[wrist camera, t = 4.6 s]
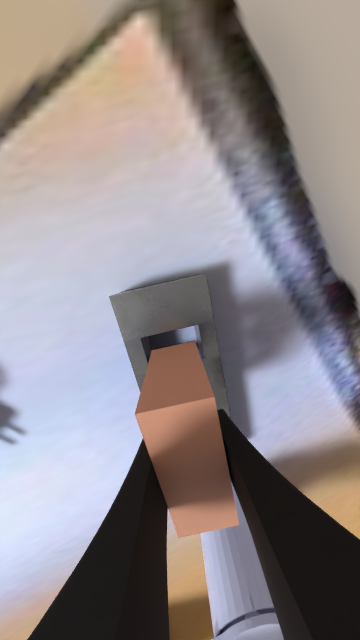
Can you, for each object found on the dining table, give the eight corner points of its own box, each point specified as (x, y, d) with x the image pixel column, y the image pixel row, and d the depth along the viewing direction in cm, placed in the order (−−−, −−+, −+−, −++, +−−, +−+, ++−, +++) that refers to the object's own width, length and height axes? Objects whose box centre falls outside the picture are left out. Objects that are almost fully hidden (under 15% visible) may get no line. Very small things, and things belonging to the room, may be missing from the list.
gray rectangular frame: (229, 445, 20) (240, 474, 17) (171, 460, 20) (172, 491, 17) (198, 274, 15) (206, 274, 12) (120, 292, 15) (109, 296, 12)
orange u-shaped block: (212, 426, 13) (239, 525, 8) (175, 434, 13) (178, 537, 8) (194, 340, 12) (214, 396, 6) (151, 350, 12) (134, 414, 6)
